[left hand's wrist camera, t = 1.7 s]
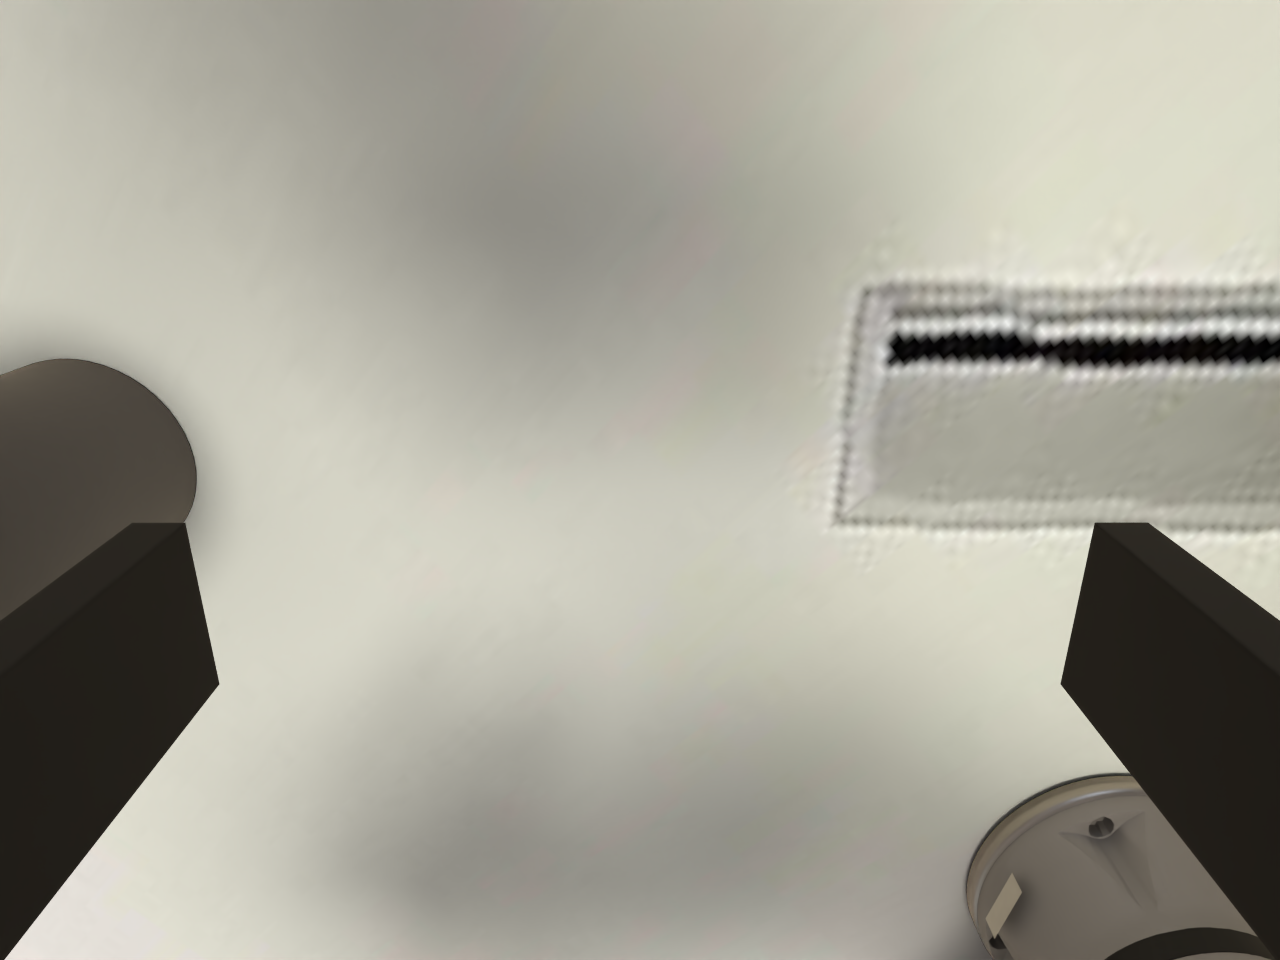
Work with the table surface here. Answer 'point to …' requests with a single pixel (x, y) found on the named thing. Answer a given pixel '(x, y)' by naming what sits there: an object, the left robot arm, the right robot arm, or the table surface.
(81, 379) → the jar
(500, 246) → the table surface
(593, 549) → the table surface
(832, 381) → the table surface
